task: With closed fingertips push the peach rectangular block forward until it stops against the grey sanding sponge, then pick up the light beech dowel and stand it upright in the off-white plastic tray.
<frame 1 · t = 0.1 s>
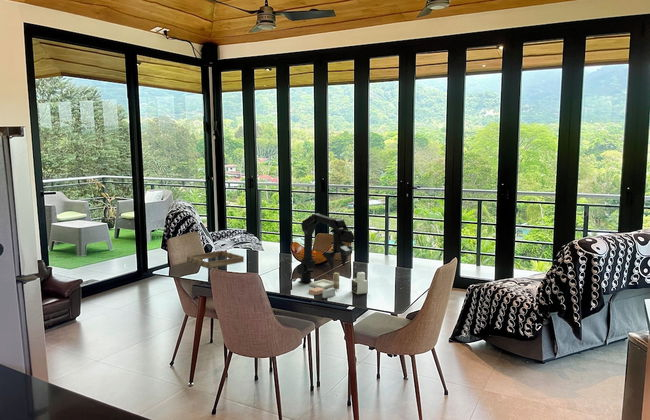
hand: (337, 267, 286), 15 cm above the table, fingers open, 9 cm apart
peach rectangular block: (316, 293, 287), on the table
tray: (323, 285, 301), on the table
grey sanding sponge: (328, 296, 279), on the table
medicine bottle: (359, 292, 288), on the table
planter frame: (215, 261, 364), on the table
dowel: (336, 288, 296), on the table
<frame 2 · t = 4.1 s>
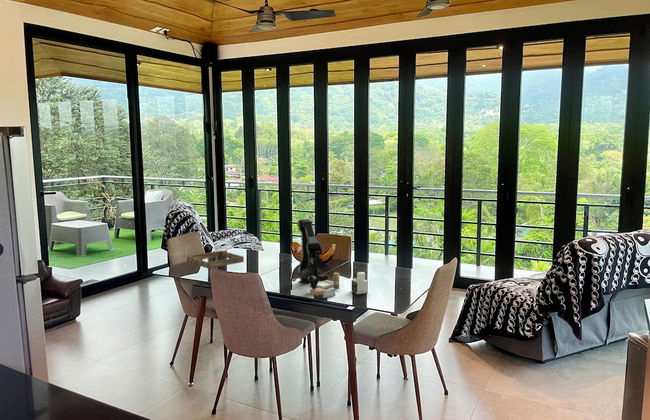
hand: (313, 289, 288), 1 cm above the table, fingers closed
peach rectangular block: (317, 294, 286), on the table, touching gripper
everything else where it was.
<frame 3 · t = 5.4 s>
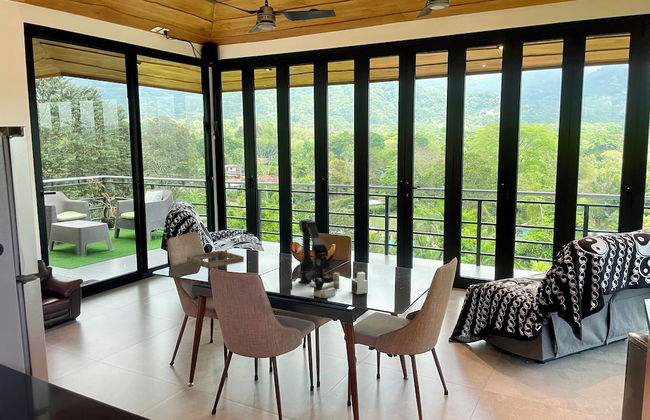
hand: (318, 291, 285), 1 cm above the table, fingers closed
peach rectangular block: (322, 295, 282), on the table
everything else where it was.
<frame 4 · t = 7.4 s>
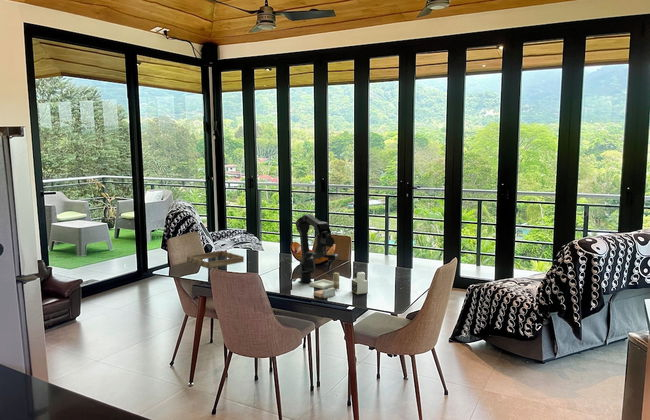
hand: (321, 270, 288), 12 cm above the table, fingers open, 9 cm apart
nothing on the table moved.
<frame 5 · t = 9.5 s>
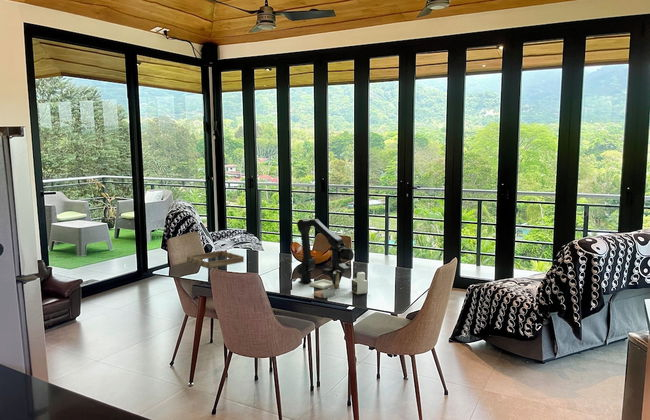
hand: (336, 284, 296), 3 cm above the table, fingers closed on dowel, 3 cm apart
dowel: (336, 288, 296), on the table, touching gripper
everything else where it was.
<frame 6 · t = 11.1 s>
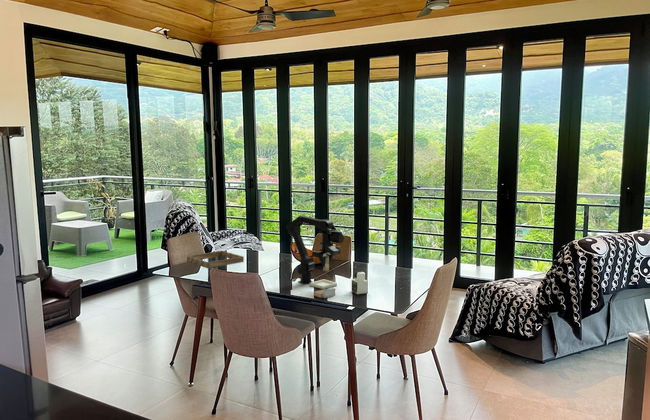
hand: (325, 266, 299), 12 cm above the table, fingers closed on dowel, 3 cm apart
dowel: (325, 270, 299), point 10 cm above the table, touching gripper
everything else where it was.
when the fingers open (4 cm above the table, at t = 13.0 s): dowel drops 1 cm, resting on tray.
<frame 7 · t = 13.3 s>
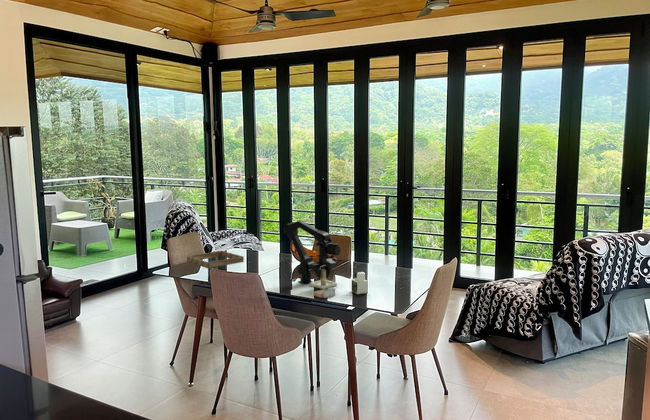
hand: (323, 278, 301), 4 cm above the table, fingers open, 6 cm apart
dowel: (323, 284, 301), point 1 cm above the table, touching tray
everything else where it was.
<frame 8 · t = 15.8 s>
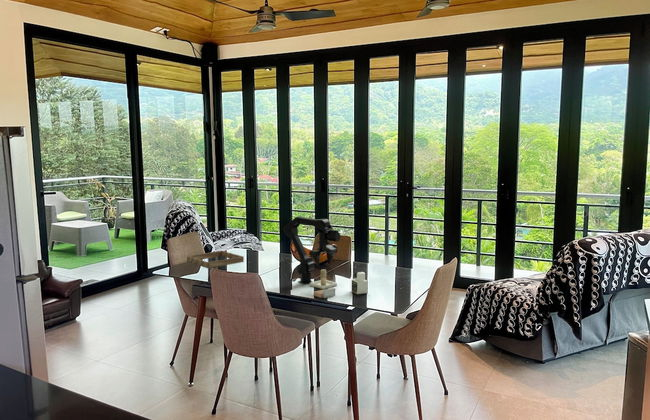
hand: (323, 265, 300), 12 cm above the table, fingers open, 9 cm apart
nothing on the table moved.
at the end: peach rectangular block 1.1 cm from the target spot on the table beside the grey sanding sponge, on the table; dowel 0.0 cm from the tray (horizontally); dowel tilted 0° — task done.
